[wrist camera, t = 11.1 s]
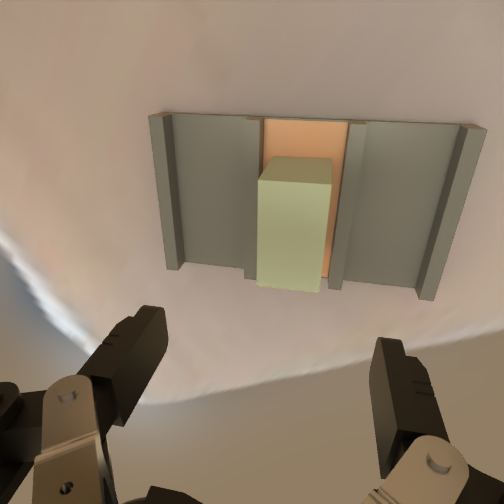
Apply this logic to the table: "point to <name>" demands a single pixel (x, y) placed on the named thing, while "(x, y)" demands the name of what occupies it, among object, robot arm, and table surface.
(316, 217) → the plug
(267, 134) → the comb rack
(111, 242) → the table surface
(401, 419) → the robot arm
